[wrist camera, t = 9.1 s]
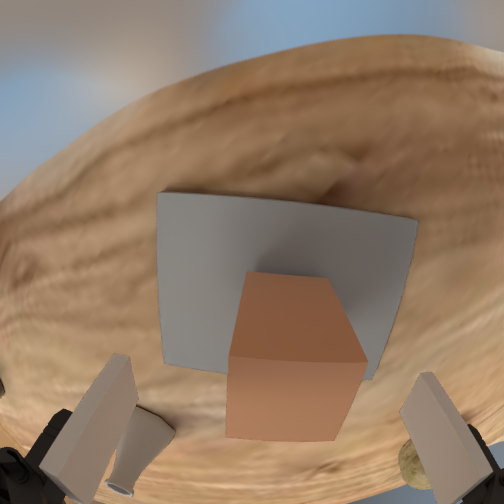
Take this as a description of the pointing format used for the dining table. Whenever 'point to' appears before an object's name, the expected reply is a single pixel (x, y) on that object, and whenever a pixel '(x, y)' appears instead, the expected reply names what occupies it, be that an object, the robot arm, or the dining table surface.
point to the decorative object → (412, 467)
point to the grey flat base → (271, 267)
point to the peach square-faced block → (291, 361)
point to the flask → (138, 449)
